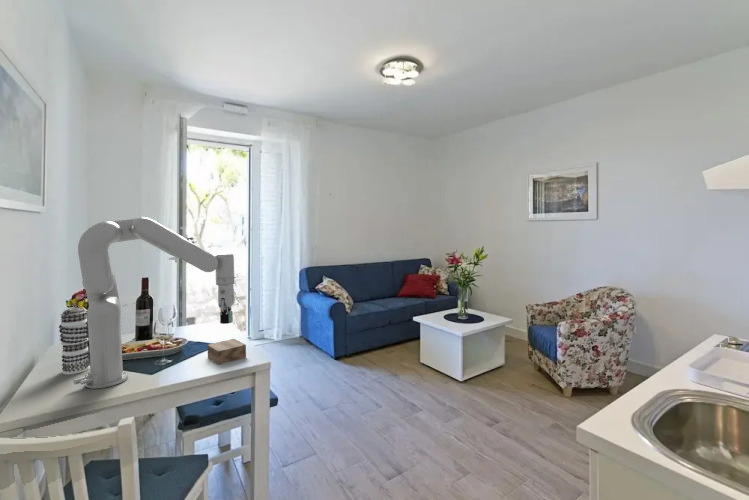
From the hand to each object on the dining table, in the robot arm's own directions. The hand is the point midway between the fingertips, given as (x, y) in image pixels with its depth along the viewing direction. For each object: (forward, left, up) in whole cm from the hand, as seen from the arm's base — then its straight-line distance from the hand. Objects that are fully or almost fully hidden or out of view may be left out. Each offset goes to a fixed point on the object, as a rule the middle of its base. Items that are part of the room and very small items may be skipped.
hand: (226, 321), depth 154 cm
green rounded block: (0, 0, -1) cm, 1 cm away
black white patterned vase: (-43, +37, -17) cm, 59 cm away
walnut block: (0, 0, -17) cm, 17 cm away
